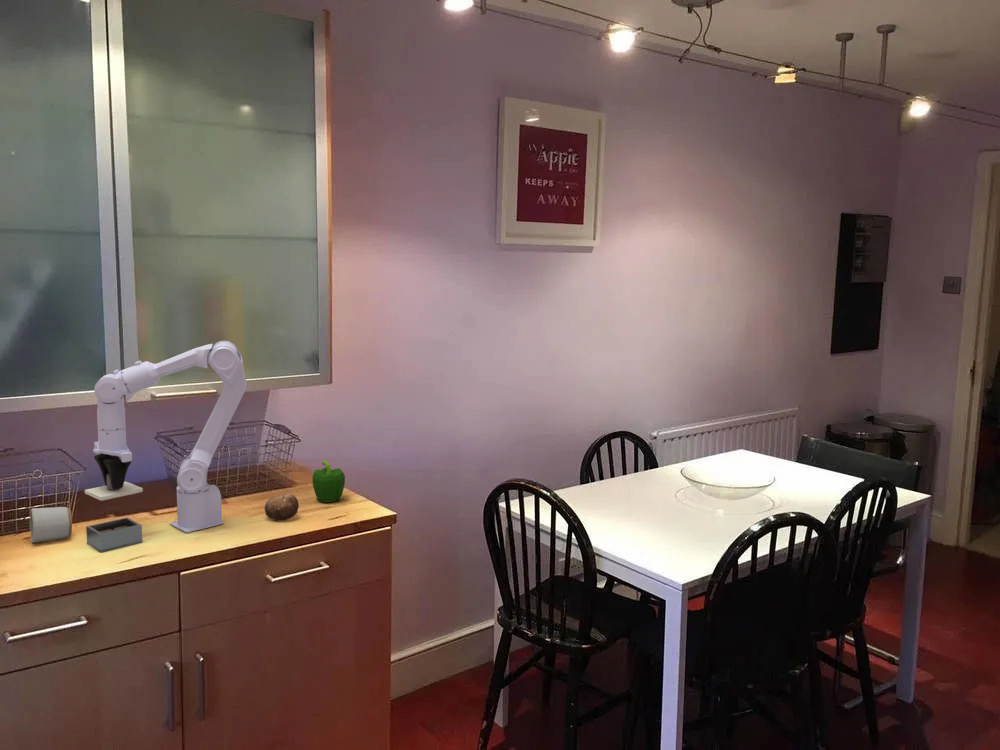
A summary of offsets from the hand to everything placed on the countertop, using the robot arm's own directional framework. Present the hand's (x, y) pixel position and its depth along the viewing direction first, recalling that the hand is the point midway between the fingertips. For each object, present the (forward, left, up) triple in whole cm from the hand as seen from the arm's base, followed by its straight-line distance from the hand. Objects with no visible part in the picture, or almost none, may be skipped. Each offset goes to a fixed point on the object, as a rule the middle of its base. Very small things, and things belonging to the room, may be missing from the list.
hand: (114, 486), depth 189 cm
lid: (0, 0, -1) cm, 1 cm away
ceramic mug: (+12, -5, -11) cm, 17 cm away
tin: (+4, +8, -10) cm, 13 cm away
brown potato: (-32, +18, -11) cm, 38 cm away
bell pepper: (-49, +14, -11) cm, 52 cm away
